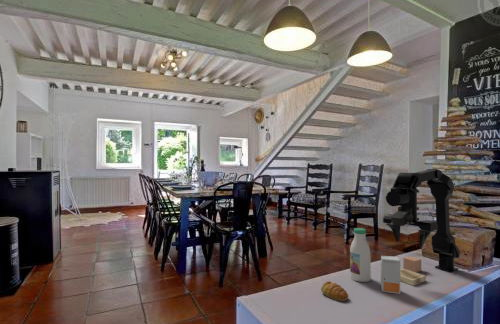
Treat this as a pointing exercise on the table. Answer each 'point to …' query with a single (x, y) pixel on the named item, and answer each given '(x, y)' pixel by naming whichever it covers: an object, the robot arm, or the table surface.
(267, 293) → the table surface
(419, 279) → the plinth
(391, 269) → the skincare box
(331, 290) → the pastry
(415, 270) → the cube
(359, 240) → the milk bottle
